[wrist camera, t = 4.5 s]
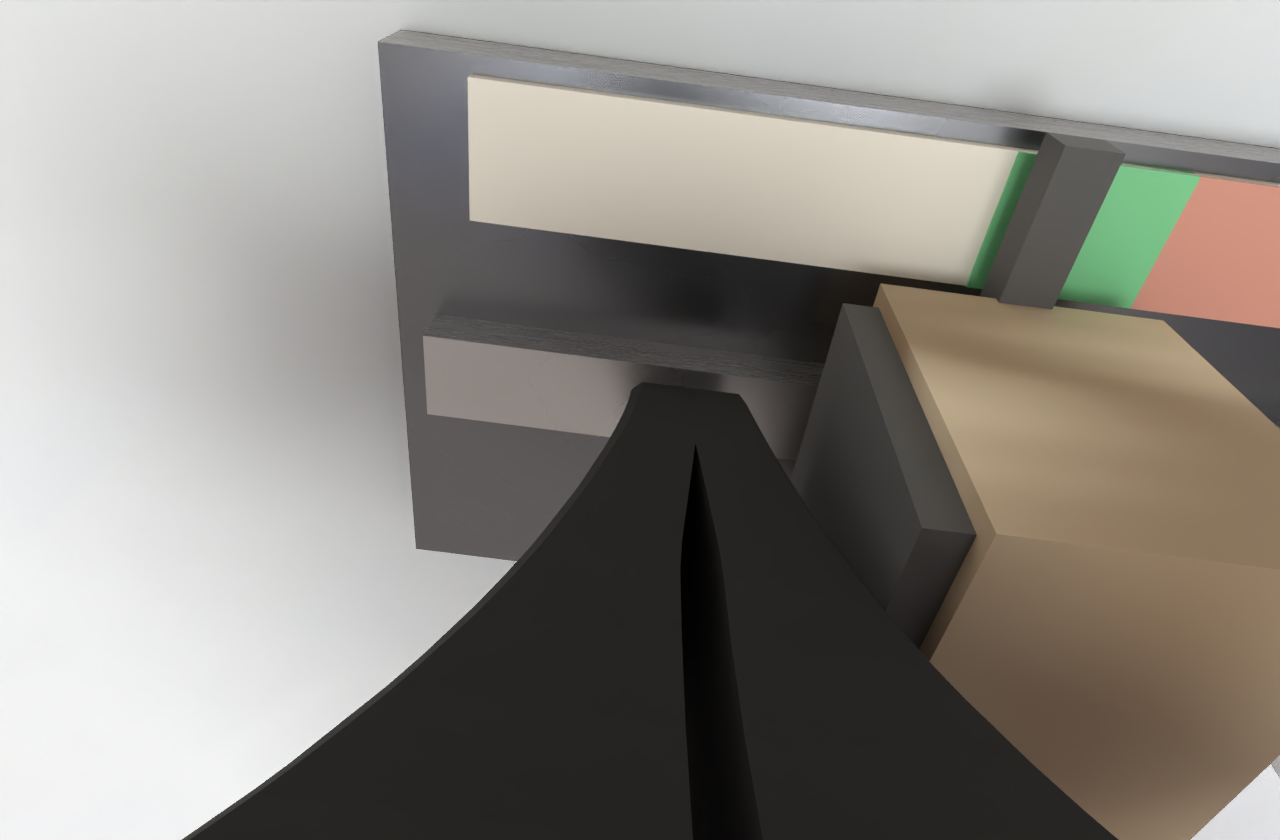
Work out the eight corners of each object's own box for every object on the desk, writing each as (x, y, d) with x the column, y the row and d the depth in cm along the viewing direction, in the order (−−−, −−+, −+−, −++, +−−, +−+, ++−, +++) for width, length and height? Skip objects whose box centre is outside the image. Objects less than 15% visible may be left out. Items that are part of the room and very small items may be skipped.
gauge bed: (429, 515, 13) (282, 869, 8) (401, 30, 9) (65, 198, 4) (1279, 621, 14) (1596, 1020, 9) (1658, 200, 9) (2696, 543, 4)
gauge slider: (761, 539, 11) (792, 844, 8) (883, 109, 8) (1040, 300, 4) (1000, 569, 11) (1142, 885, 8) (1227, 157, 8) (1669, 384, 4)
